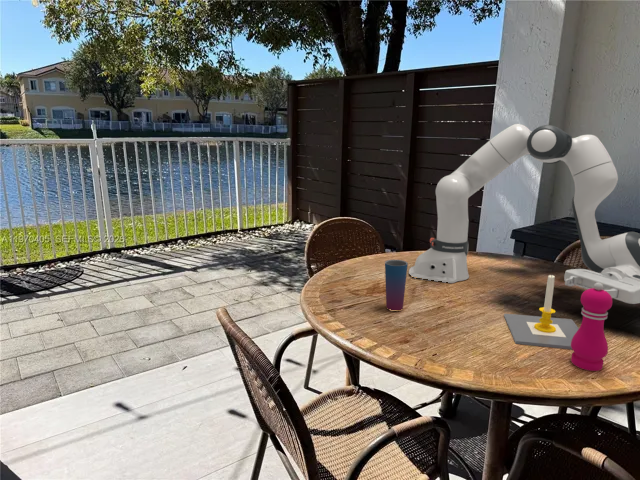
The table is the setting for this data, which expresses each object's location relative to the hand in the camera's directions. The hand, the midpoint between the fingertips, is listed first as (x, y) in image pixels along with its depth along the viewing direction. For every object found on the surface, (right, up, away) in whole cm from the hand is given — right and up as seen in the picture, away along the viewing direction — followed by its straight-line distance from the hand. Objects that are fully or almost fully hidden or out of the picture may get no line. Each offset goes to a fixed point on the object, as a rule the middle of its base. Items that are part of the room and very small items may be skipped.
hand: (582, 288), depth 116 cm
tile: (-11, -12, -2) cm, 16 cm away
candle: (-11, -11, -1) cm, 16 cm away
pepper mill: (-10, -16, -18) cm, 26 cm away
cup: (-49, -8, +15) cm, 52 cm away
